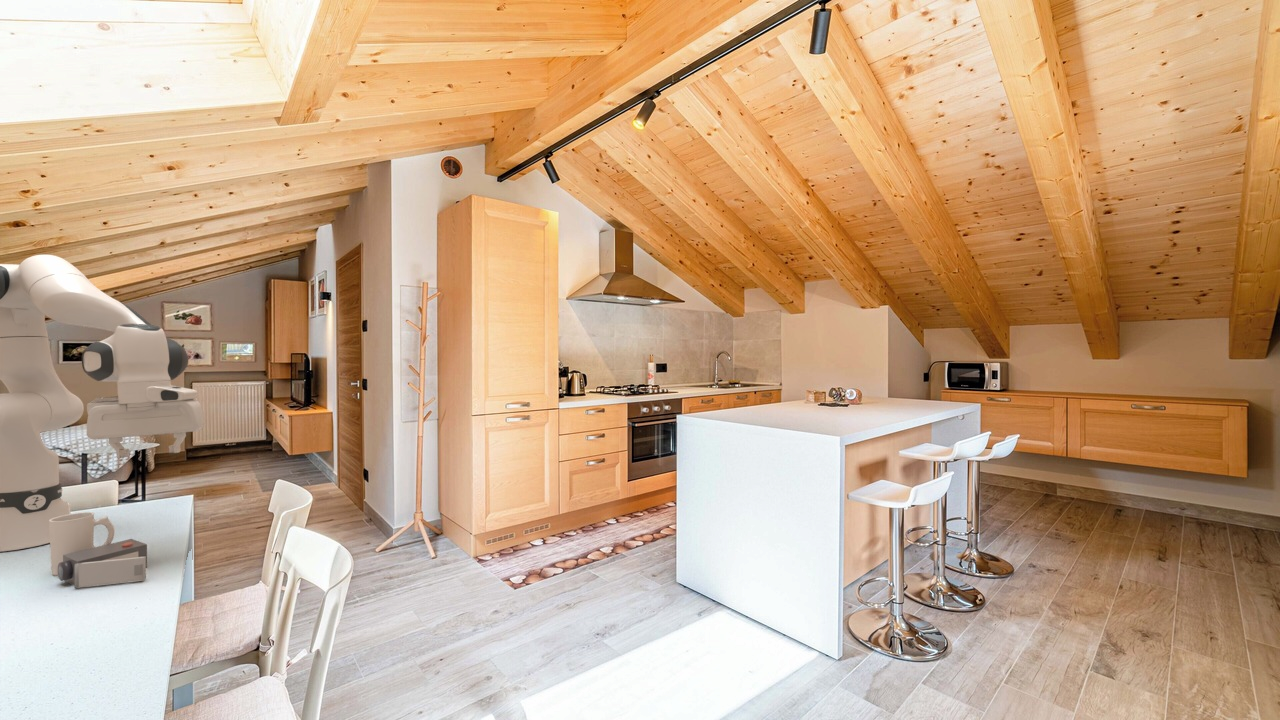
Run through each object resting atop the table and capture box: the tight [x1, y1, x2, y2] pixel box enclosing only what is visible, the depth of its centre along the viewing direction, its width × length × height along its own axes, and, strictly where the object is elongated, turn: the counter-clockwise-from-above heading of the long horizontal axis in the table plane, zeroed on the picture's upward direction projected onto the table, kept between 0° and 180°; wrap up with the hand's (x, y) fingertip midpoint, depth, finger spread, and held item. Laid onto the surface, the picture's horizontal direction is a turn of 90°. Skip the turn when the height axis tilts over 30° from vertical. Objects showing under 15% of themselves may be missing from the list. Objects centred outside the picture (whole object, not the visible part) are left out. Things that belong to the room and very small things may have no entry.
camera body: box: [58, 538, 148, 587], centre depth 113 cm, size 8×12×6 cm, turn 153°
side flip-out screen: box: [74, 556, 147, 589], centre depth 108 cm, size 1×12×5 cm, turn 108°
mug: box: [49, 511, 116, 577], centre depth 117 cm, size 10×7×12 cm, turn 130°
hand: (149, 455), depth 117 cm, fingers open, 8 cm apart
